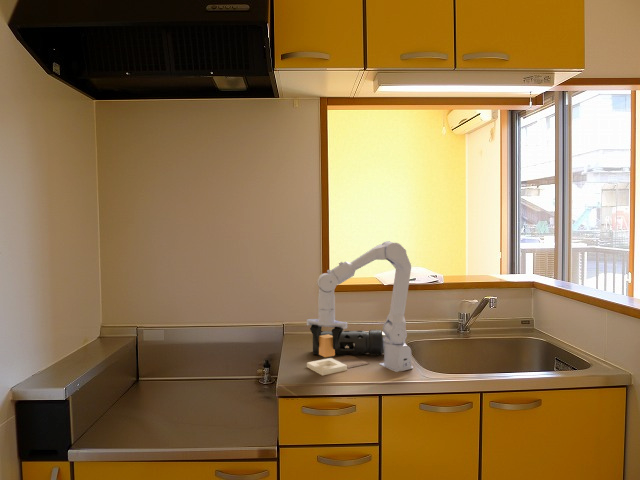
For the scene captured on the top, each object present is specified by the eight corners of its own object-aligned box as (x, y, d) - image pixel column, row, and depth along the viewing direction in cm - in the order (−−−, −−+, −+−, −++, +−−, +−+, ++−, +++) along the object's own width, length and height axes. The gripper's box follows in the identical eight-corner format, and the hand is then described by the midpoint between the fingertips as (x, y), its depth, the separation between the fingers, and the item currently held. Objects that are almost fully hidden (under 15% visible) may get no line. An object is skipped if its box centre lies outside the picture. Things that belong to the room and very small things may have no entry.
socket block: (346, 371, 156) (346, 365, 156) (322, 376, 151) (322, 370, 151) (331, 363, 165) (331, 357, 164) (307, 368, 159) (307, 362, 159)
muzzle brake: (313, 326, 180) (312, 334, 170) (384, 326, 179) (387, 333, 169) (314, 350, 181) (312, 359, 171) (384, 349, 180) (387, 358, 170)
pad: (369, 365, 162) (369, 363, 162) (348, 369, 158) (348, 367, 158) (349, 356, 173) (349, 354, 173) (330, 360, 168) (330, 358, 168)
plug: (334, 355, 157) (334, 336, 156) (325, 357, 155) (325, 338, 154) (328, 352, 160) (328, 334, 160) (318, 354, 158) (318, 336, 158)
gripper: (350, 307, 157) (350, 346, 158) (312, 305, 163) (312, 342, 164) (343, 311, 151) (343, 352, 152) (303, 308, 157) (304, 347, 157)
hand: (326, 347), depth 157 cm, fingers closed on plug, 6 cm apart
